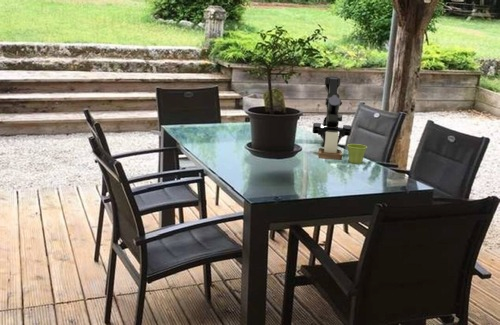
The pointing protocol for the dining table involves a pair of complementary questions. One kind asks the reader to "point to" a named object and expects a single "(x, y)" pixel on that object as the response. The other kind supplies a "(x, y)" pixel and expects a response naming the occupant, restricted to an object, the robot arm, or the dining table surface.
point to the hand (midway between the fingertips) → (331, 143)
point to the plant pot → (356, 153)
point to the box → (330, 154)
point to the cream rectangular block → (331, 142)
